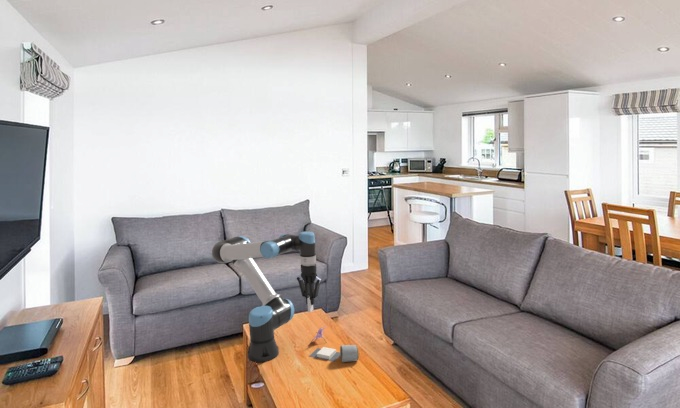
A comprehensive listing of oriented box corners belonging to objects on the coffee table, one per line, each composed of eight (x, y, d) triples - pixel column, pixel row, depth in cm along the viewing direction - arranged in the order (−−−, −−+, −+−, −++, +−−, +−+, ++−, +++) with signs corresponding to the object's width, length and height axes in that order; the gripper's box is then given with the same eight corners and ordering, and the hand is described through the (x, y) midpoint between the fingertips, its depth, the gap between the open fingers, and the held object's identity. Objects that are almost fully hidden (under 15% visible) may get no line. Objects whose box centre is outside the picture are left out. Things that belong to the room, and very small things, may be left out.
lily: (328, 337, 228) (319, 322, 229) (338, 336, 219) (329, 320, 219) (311, 351, 222) (302, 335, 222) (321, 351, 212) (311, 334, 212)
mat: (308, 357, 206) (308, 356, 206) (317, 348, 214) (317, 348, 214) (334, 362, 200) (334, 361, 200) (342, 353, 208) (342, 353, 208)
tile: (316, 353, 205) (329, 356, 202) (323, 346, 211) (335, 349, 208) (316, 356, 205) (329, 359, 202) (323, 350, 212) (336, 352, 208)
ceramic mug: (359, 363, 198) (359, 347, 198) (342, 365, 197) (341, 349, 196) (355, 353, 209) (354, 338, 208) (338, 354, 208) (338, 339, 207)
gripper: (292, 264, 203) (295, 311, 207) (316, 267, 198) (318, 315, 201) (300, 260, 210) (303, 306, 213) (323, 263, 204) (326, 309, 208)
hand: (310, 310), depth 207 cm, fingers closed
